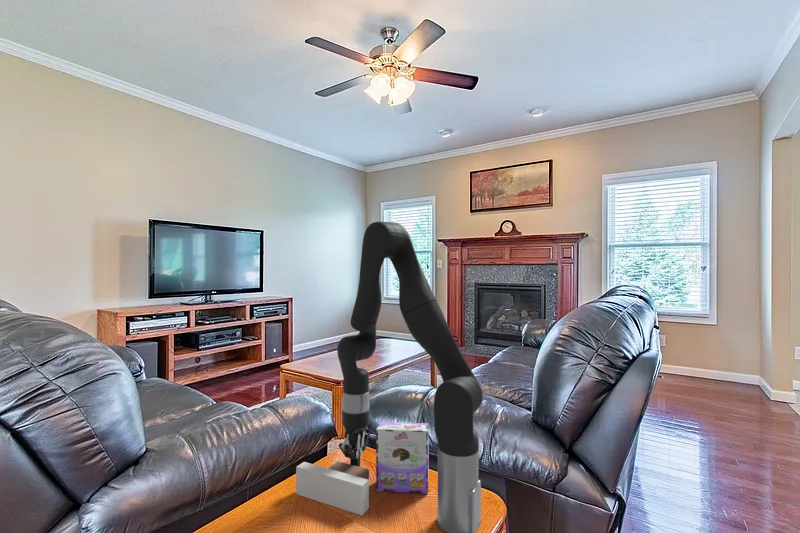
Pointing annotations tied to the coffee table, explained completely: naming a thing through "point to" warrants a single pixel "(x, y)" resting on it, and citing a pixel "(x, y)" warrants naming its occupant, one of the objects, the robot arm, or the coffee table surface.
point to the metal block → (350, 469)
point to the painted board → (333, 487)
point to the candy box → (402, 457)
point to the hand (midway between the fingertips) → (355, 469)
